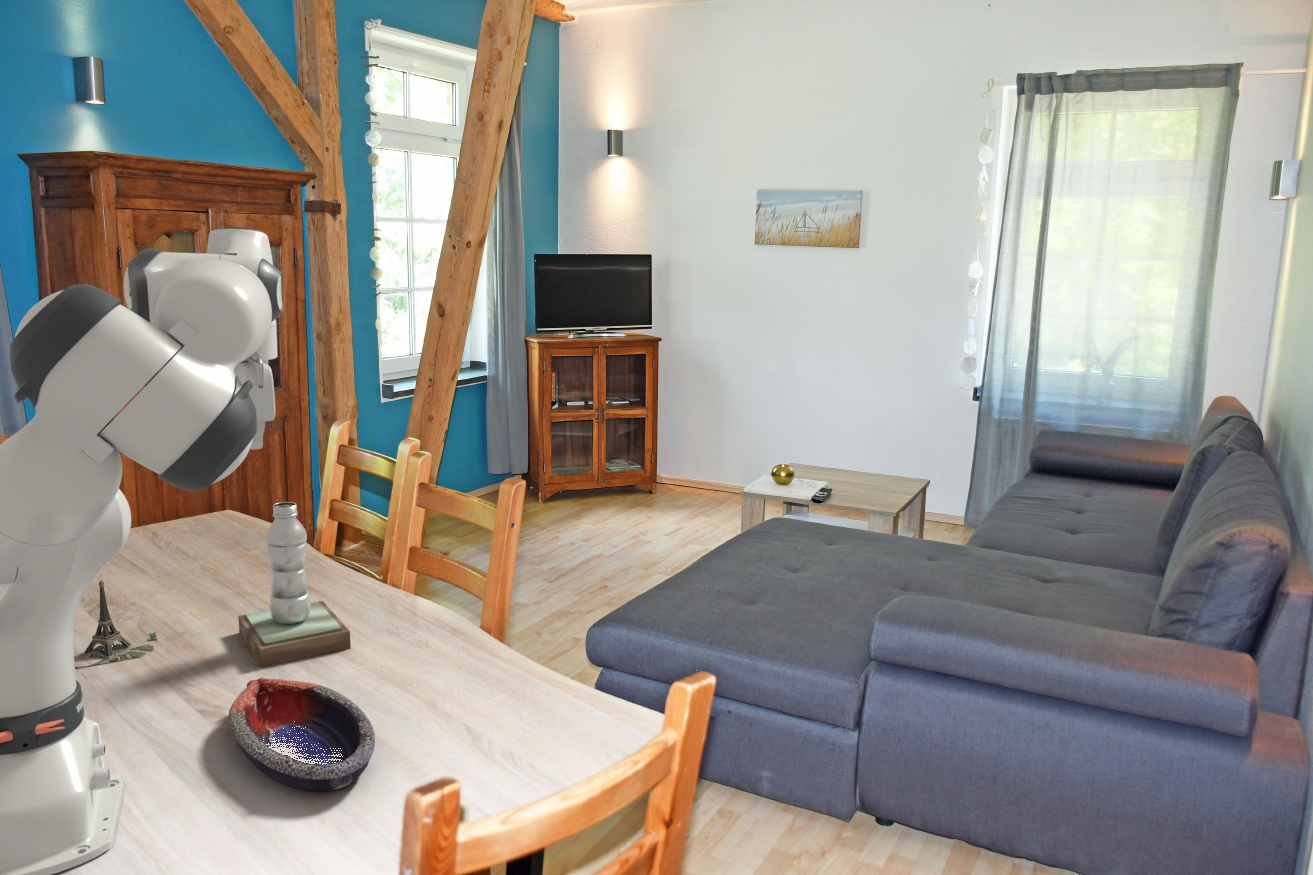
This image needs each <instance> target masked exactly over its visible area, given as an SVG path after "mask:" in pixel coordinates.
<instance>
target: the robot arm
mask: <svg viewBox="0 0 1313 875" xmlns="http://www.w3.org/2000/svg"><path fill="white" fill-rule="evenodd" d="M207 240H208V241H207V247H206V253H202V252H201V253H195V252H171V251H170V252H169V251H165V250H156V249H143V250H141V251H140V252H138V253H137V254H136V255H135V256H133V258H132V259H130V261H129V262H128V263H127V268H126V270H125V272H124V278H123V294H124V295H123V296H124V301H125V304H126V306H127V307H126V306H124V305H122V302H123V301H122V299H119V298H118V297H116V296H114V295H112V294H111V293H109V292H107V291H105V290H103V289H101V288H99V287H96V286H94V285H91V284H88V283H79V284H72V285H70V286H68V287H66V288H65V289H62V290H59V291H56V292H54V293H51V294H50V295H47V296H46V297H44V298H42V299H41V300H40V301H38V302H37V303H35V304H34V305H33V306H32V307H31V308H30V309H29V310H28V311H27V312H26V314H25V315H24V316H23V318H22V319H21V321H20V323H19V325H18V326H17V330H16V331H15V336H14V338H13V340H12V341H11V343H10V344H9V365H10V366H9V369H10V373H11V374H12V376H13V377H12V378H13V379H14V381H15V384H16V385H17V387H18V390H17V391H16V392H15V393H14V396H13V398H14V400H15V402H16V403H17V404H20V403H22V402H24V401H25V400H26V399H27V398H28V401H30V403H31V406H32V408H33V409H34V408H35V413H34V417H33V418H32V419H31V420H30V421H29V422H28V423H27V424H25V425H24V427H22V428H21V429H19V430H18V431H17V432H15V433H14V434H12V435H11V436H10V437H8V438H7V439H5V441H4V440H3V442H2V443H0V586H1V585H6V584H10V585H9V587H8V589H7V591H6V592H5V594H4V595H3V596H2V597H1V599H0V875H54V874H57V873H60V872H63V871H65V870H69V869H72V868H74V867H77V866H81V865H83V864H84V863H86V862H88V861H90V860H93V859H95V858H96V857H99V856H101V855H102V854H103V853H106V852H107V851H109V850H110V849H111V848H112V846H113V845H114V841H115V840H114V839H115V834H116V830H117V826H118V825H117V824H118V821H119V815H120V810H121V805H122V800H123V797H124V796H123V795H124V790H125V786H126V783H125V778H124V775H122V774H121V773H120V774H119V773H112V772H111V770H110V767H109V766H105V765H104V758H103V757H104V756H105V755H106V745H105V743H102V742H101V741H102V740H101V732H100V725H99V723H98V722H95V721H93V720H91V719H89V718H87V717H86V716H85V708H84V702H85V700H84V693H83V691H82V685H81V683H80V682H79V681H78V680H77V675H76V669H75V667H76V666H75V665H76V664H75V662H76V661H75V622H76V617H77V613H78V610H79V607H80V603H81V601H82V599H83V597H84V594H85V593H86V591H87V589H88V587H89V585H90V584H91V582H92V581H93V580H94V578H95V576H97V574H98V573H99V571H100V570H101V569H102V568H104V566H105V565H106V564H107V563H108V562H109V561H110V560H111V559H112V558H113V557H114V556H116V555H117V554H118V553H119V552H120V551H121V549H122V548H123V547H124V545H125V543H126V542H127V540H128V538H129V534H130V531H131V526H132V512H131V508H130V505H129V502H128V500H127V498H126V496H125V494H124V492H123V491H122V490H121V489H120V487H121V486H120V485H121V482H122V477H123V463H122V457H121V454H122V455H124V456H126V457H127V458H129V459H130V460H132V461H135V462H136V463H138V464H139V465H141V466H143V467H145V468H147V469H148V470H150V471H152V472H154V473H156V474H158V479H159V480H161V481H163V482H165V483H167V484H169V485H171V486H173V487H175V488H178V489H181V490H183V491H186V492H191V493H192V492H198V491H203V490H206V489H207V488H209V487H210V486H211V485H213V484H216V483H218V482H219V481H223V479H226V477H228V476H229V475H231V474H232V473H233V472H235V471H236V470H237V469H238V467H239V466H240V465H242V463H243V462H244V460H245V459H246V457H247V456H248V453H249V452H250V450H260V449H262V448H263V447H264V440H263V439H264V437H263V436H264V433H265V429H266V422H272V421H274V420H275V417H276V399H275V398H276V397H275V396H276V395H275V386H274V384H275V383H274V377H273V376H274V375H273V372H272V368H271V366H270V365H269V361H270V360H274V359H277V358H278V334H277V332H278V331H277V318H278V317H279V316H280V315H281V314H282V313H283V312H284V311H285V306H284V298H283V276H284V274H283V272H282V271H280V270H279V268H277V267H276V266H274V262H273V261H274V260H273V255H272V249H271V245H270V240H269V236H268V235H267V234H266V233H265V232H264V231H261V230H258V229H255V228H250V227H240V226H227V227H226V226H224V227H219V228H218V227H217V228H215V229H212V230H211V231H210V232H209V235H208V239H207ZM145 385H146V386H145ZM120 453H121V454H120Z"/></svg>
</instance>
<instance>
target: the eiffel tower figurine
mask: <svg viewBox="0 0 1313 875" xmlns="http://www.w3.org/2000/svg"><path fill="white" fill-rule="evenodd" d="M99 577H100V578H102V575H99ZM98 586H99V618H98V621H97V623H98V624H97V628H96V631H95V633H94V635H92V637H91V638H92V640H91V641H90V643H89V644H88V646H87V648H86V649H85V650H84V652H83V653H82V654H81V656H82V657H83V656H84V657H89V658H97V659H101V660H98V661H97V662H95V663H92V664H90V665H86V666H85V665H83V666H75V670H77V669H83V668H89V667H94V666H100V665H104V664H110V663H116V662H122V661H127V660H128V661H129V660H132V659H133V660H134V659H140V658H143V657H145V656H146V655H148V654H150V653H152V652H153V651H154V650H155V647H154V645H152V644H149V643H148V644H144V645H140V646H136V647H135V646H134V644H131V643H130V641H128V640H127V639H125V637H124V636H122V634H121V631H119V630H117V628H116V627H115V624H114V623H113V620H112V618H111V616H110V612H109V608H108V602H107V597H106V592H105V587H104V586H105V582H104V581H102V579H100V581H99V582H98ZM148 636H149V638H148V639H147V640H146V642H157V641H158V638H157V634H156V632H151V633H148ZM117 641H118V642H119V643H115V642H117ZM114 643H115V644H116V645H114ZM96 645H99V646H96ZM102 645H103V646H102ZM112 645H113V647H112ZM95 646H96V647H95ZM103 649H104V650H103ZM113 650H114V651H113Z"/></svg>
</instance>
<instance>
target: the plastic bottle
mask: <svg viewBox="0 0 1313 875" xmlns="http://www.w3.org/2000/svg"><path fill="white" fill-rule="evenodd" d="M272 508H273V509H272V510H273V512H272V517H273V518H274V520H273V522H272V523H271V525H270V526H269V528H268V529H267V531H266V534H265V543H266V548H267V552H268V557H269V564H270V571H271V572H270V573H271V587H270V588H271V593H270V597H269V610H270V613H271V617H272V618H273V619H274V620H275V621H276V622H278V623H282V624H292V623H298V622H301V621H303V620H305V619H306V618H307V617H308V615H309V614H310V609H311V596H310V594H309V591H308V584H307V577H306V553H307V541H308V532H307V530H306V529H305V527H304V526H303V524H302V522H300V521H299V520H298V518H297V517H298V514H299V513H298V512H299V511H298V507H297V503H296V502H293V501H292V502H291V501H282V502H276V503H274V504H273V506H272Z"/></svg>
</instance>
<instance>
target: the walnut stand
mask: <svg viewBox="0 0 1313 875" xmlns="http://www.w3.org/2000/svg"><path fill="white" fill-rule="evenodd" d="M310 602H311V601H310ZM238 632H239V635H240V636H241V637H242V639H243V641H244V642H245V644H246V645H247V647H248V649H249V650H250V652H251V653H252V655H253V657H254V658H255V660H256V662H257V663H258V664H259V667H260V668H264V667H269V666H274V665H278V664H279V665H280V664H283V663H287V662H288V663H289V662H293V661H297V660H303V659H307V658H312V657H317V656H320V655H325V654H329V653H335V652H339V651H344V649H345V650H350V649H352V648H351V631H350V630H349V628H348V627H347V626H346V625H345V623H343V622H342V621H341V620H340V618H338V616H337V615H336V613H334V611H333V610H331V608H330V607H329V606H328V605H327V604H326V603H325V602H324V601H323V600H317V601H313V602H311V609H310V614H309V615H308V617H307V618H306V619H305V620H303V621H301V622H298V623H292V624H282V623H278V622H276V621H275V620H274V619H273V618H272V617H271V613H270V609H268V610H263V611H258V612H252V613H251V612H250V613H246V614H241V615H238Z"/></svg>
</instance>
